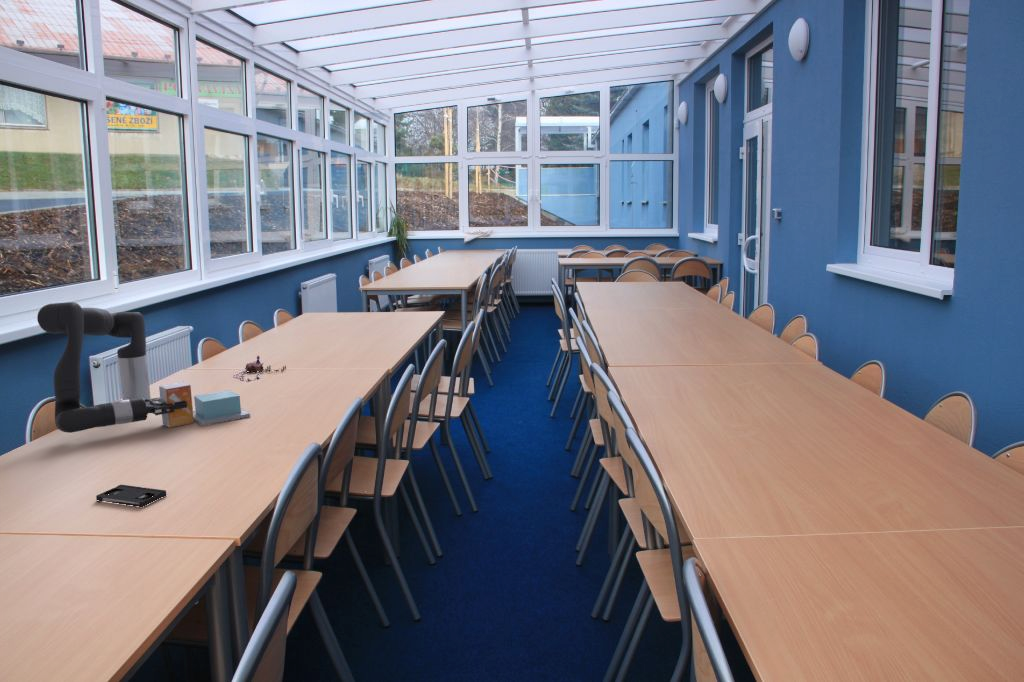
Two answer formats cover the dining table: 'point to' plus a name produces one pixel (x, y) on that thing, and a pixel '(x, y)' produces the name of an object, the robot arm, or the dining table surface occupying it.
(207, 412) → the tower base
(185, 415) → the small box
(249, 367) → the playset
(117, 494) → the vhs tape
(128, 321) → the robot arm
